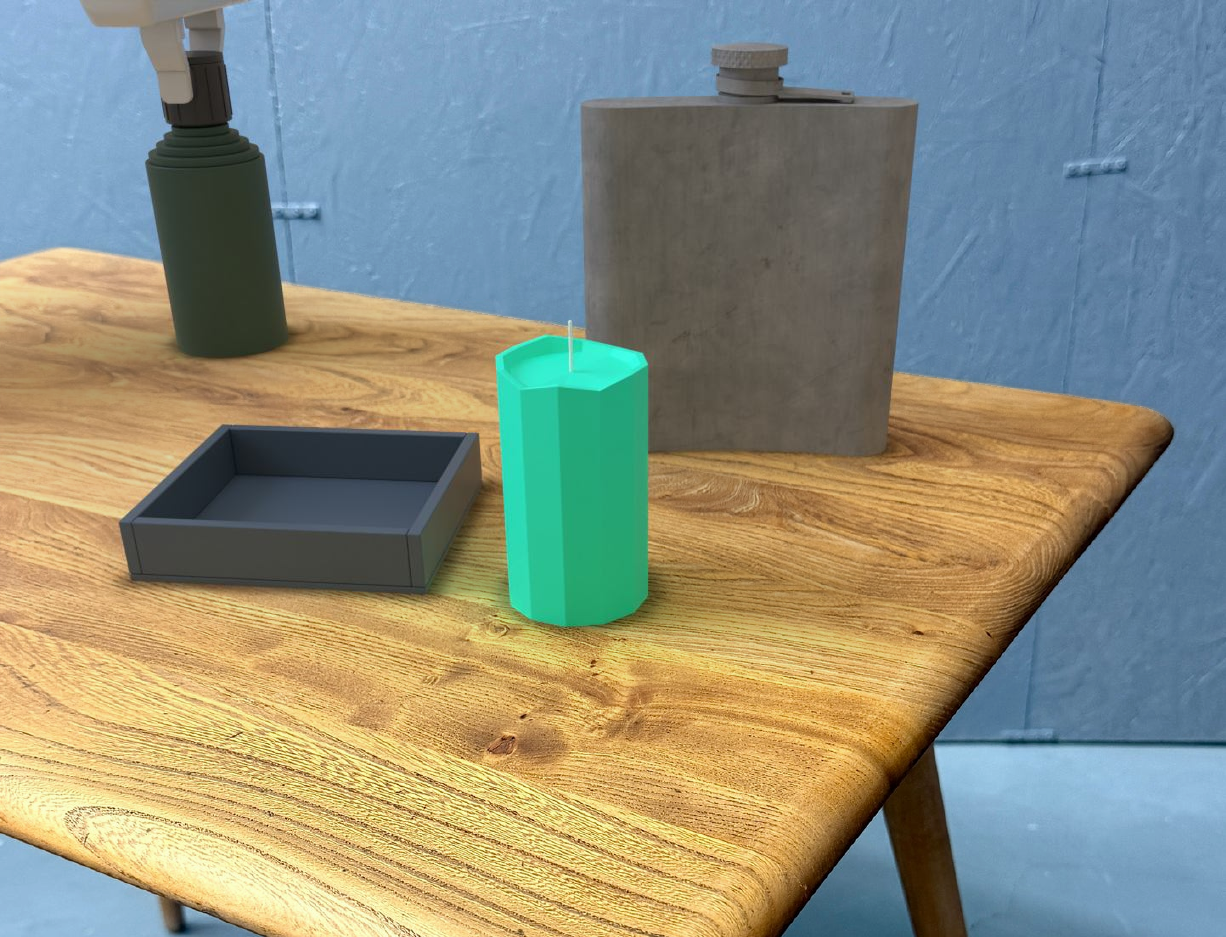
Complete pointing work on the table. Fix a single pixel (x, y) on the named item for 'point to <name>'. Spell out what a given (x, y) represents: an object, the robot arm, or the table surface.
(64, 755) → the table surface
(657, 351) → the hip flask
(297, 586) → the tray
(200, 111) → the cap
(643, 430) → the candle
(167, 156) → the flask
